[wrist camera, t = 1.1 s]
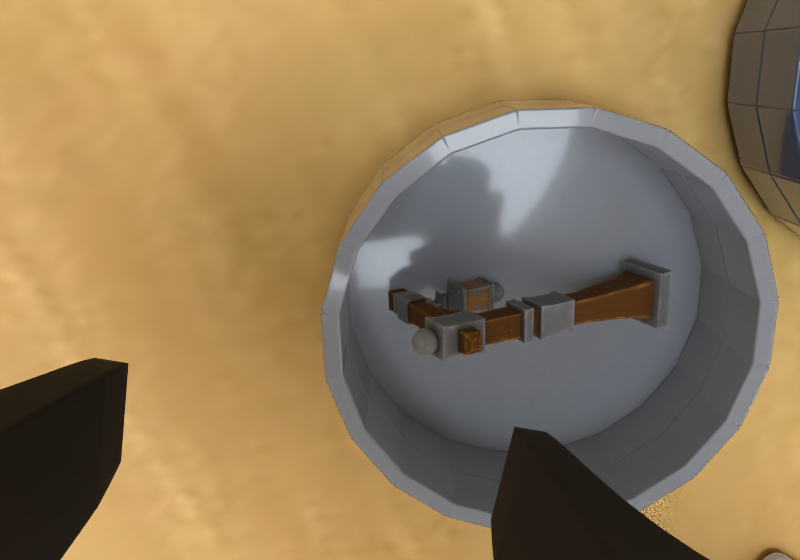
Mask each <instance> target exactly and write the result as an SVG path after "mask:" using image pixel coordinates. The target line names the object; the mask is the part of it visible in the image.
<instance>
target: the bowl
mask: <svg viewBox="0 0 800 560" xmlns="http://www.w3.org/2000/svg"><path fill="white" fill-rule="evenodd" d="M735 33H736V34H735V35H734V41H733V51H732V60H731V70H730V80H729V90H728V100H727V101H728V102H729V103H728V109H729V114H730V118H731V123H732V127H733V132H734V137H735V141H736V146H737V150H738V155H739V160H740V163H741V164H742V168H743V170H744V171H745V173H746V174H747V176H748V178H749V179H750V181H751V182H752V184H753V186H754V187H755V189H756V190H757V192H758V193H759V195H760V197H761V198H762V200H763V201H764V203H765V205H766V206H767V208H768V209H769V211H770V213H771V214H773V215H774V217H775V218H777V219H778V220H779V221H781V222H782V223H783V224H785V225H786V226H787V227H789V228H790V229H791V230H793V231H794V232H795V233H797V234H798V235H799V236H800V0H748V1H747V4H746V6H745V8H744V11H743V13H742V16H741V18H740V21H739V23H738V26H737V28H736V31H735Z"/></svg>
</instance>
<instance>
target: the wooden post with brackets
mask: <svg viewBox="0 0 800 560" xmlns="http://www.w3.org/2000/svg"><path fill="white" fill-rule="evenodd" d="M671 285H672V270H669V269H666V268H663V267H660V266H657V265H653V264H650V263H647V262H644V261H641V260H638V259H635V258H632V257H629V258H628V259H627V260H625V261H622V260H621V268H620V274H619V275H617V276H615V277H613V278H611V279H609V280H606V281H603V282H600V283H598V284H595V285H592V286H590V287H587V288H584V289H581V290H579V291H576V292H571V293H567V294H561V293H559V292H556V291H552V292H550V293H548V294H545V295H539V296H534V297H522V302H520V301H518V300H516V299H514V298H513V299H512V300H506V307H501V308H497V309H495V303H497V302H499V301H501V299H502V298H503V297H504V289H503V287H502V286H501V285H500V284H498V283H492V282H490V281H488V280H486V279H484V278H482V277H480V276H477V278H476V279H474V280H472V281H468V282H464V283H460V284H459V283H457V282H455V281H453V280H451V279H447V293H446V294H445V293H443V294H441V293H439V292H438V291H436V295H435V300H432V299H431V298H426V297H424V296H422V295H421V294H419V293H417V292H412V293H411V291H407V290H406V289H405V288H401V289H395V290H390V291H388V298H389V310H391V311H393V312H394V314H397V318H398V319H400V320H401V321H403V322H404V323H406V324H407V325H409V324H414V325H416V326H417V327H419V328H420V329H419V330H418V331H416V333H415V334H414V335H413V337H412V346H413V349H414V350H415V351H416V352H417V353H418V354H421V355H431V354H432V355H434V356H435V357H437V358H438V359H440V360H441V361H443V362H445V361H447V360H449V359H451V358H454V357H458V356H463V355H470V354H474V353H479V352H485V345H489V344H494V343H498V342H503V341H508V340H513V339H518V340H520V341H521V342H523V343H526V342H530V341H531V342H533V336H535V337H537V338H539V339H540V340H542V339H544V338H546V337H547V336H550V335H554V334H558V333H562V332H574V326H575V325H579V324H584V323H589V322H597V321H607V320H617V319H627V318H632V319H635V320H637V321H639V322H642V323H644V324H646V325H649V326H651V327H653V328H656V329H658V328H662V327H665V328H667V329H668V325H669V312H670V298H671ZM427 300H428V301H429V302H427ZM434 303H435V304H434ZM481 311H484V312H481ZM473 312H480V313H473Z"/></svg>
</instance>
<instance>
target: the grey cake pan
mask: <svg viewBox="0 0 800 560" xmlns="http://www.w3.org/2000/svg"><path fill="white" fill-rule="evenodd" d="M629 257H632V258H635V259H638V260H641V261H644V262H647V263H650V264H653V265H657V266H660V267H663V268H666V269H669V270H672V285H671V298H670V312H669V325H668V329H667V328H665V327H662V328H658V329H656V328H653V327H651V326H649V325H646V324H644V323H642V322H639V321H637V320H635V319H632V318H627V319H617V320H607V321H597V322H589V323H584V324H579V325H575V326H574V332H562V333H558V334H554V335H550V336H547V337H546V338H544V339H542V340H540V339H539V338H537V337H535V336H533V342H531V341H530V342H526V343H523V342H521V341H520V340H518V339H513V340H508V341H503V342H498V343H494V344H489V345H485V352H479V353H474V354H470V355H463V356H458V357H454V358H451V359H449V360H447V361H445V362H443V361H441V360H440V359H438V358H437V357H435V356H434V355H432V354H431V355H421V354H418V353H417V352H416V351H415V350H414V349H413V346H412V337H413V335H414V334H415V333H416V331H418V330H419V329H420V328H419V327H417V326H416V325H414V324H409V325H407V324H406V323H404V322H403V321H401V320H400V319H398V318H397V314H394V312H393V311H391V310H389V298H388V291H390V290H395V289H401V288H405V289H406V290H407V291H411V293H412V292H417V293H419V294H421V295H422V296H424V297H426V298H431V299H432V300H435V295H436V291H438V292H439V293H441V294H443V293H445V294H446V293H447V279H451V280H453V281H455V282H457V283H459V284H460V283H464V282H468V281H472V280H474V279H476V278H477V276H480V277H482V278H484V279H486V280H488V281H490V282H492V283H498V284H500V285H501V286H502V287H503V289H504V297H503V298H502V299H501V301H499V302H497V303H495V309H497V308H501V307H506V300H512V299H513V298H514V299H516V300H518V301H520V302H522V297H534V296H539V295H545V294H548V293H550V292H552V291H556V292H559V293H561V294H567V293H571V292H576V291H579V290H581V289H584V288H587V287H590V286H592V285H595V284H598V283H600V282H603V281H606V280H609V279H611V278H613V277H615V276H617V275H619V274H620V268H621V260H622V261H625V260H627V259H628V258H629ZM778 299H779V297H778V293H777V288H776V283H775V279H774V274H773V269H772V265H771V260H770V255H769V250H768V246H767V241H766V236H765V234H764V231H763V229H762V228H761V226H760V225H759V223H758V221H757V220H756V218H755V217H754V215H753V214H752V212H751V210H750V209H749V207H748V206H747V204H746V203H745V201H744V199H743V198H742V196H741V195H740V193H739V192H738V190H737V188H736V187H735V185H734V184H733V182H732V181H731V179H730V177H729V176H728V175H727V174H726V173H725V171H723V170H722V169H721V168H719V167H718V166H717V165H715V164H714V163H713V162H711V161H710V160H709V159H707V158H706V157H705V156H703V155H702V154H701V153H699V152H698V151H697V150H695V149H694V148H693V147H691V146H690V145H689V144H687V143H686V142H685V141H683V140H682V139H681V138H679V137H678V136H677V135H675V134H674V133H673V132H671V131H670V130H667V129H666V128H663V127H660V126H656V125H653V124H650V123H647V122H643V121H640V120H637V119H634V118H630V117H627V116H624V115H621V114H618V113H614V112H611V111H608V110H605V109H601V108H598V107H594V106H589V105H584V104H580V103H575V102H571V101H566V100H520V101H499V102H494V103H491V104H488V105H486V106H483V107H480V108H477V109H473V110H470V111H467V112H465V113H462V114H460V115H457V116H455V117H452V118H450V119H447V120H444V121H441V122H439V123H436V125H433V126H431V127H430V128H429V129H428V130H426V131H425V132H424V133H422V134H421V135H420V136H418V137H417V138H416V139H414V140H413V141H412V142H410V143H409V144H408V145H406V146H405V147H404V148H402V149H401V150H400V151H399V152H398V153H397V154H396V155H394V156H393V157H392V158H390V159H389V160H388V161H387V162H385V164H384V165H383V166H382V167H381V169H380V170H379V172H378V173H377V175H376V176H375V178H374V179H373V181H372V182H371V183H370V185H369V186H368V187H367V189H366V190H365V192H364V194H363V195H362V197H361V198H360V200H359V201H358V203H357V204H356V206H355V207H354V209H353V210H352V212H351V213H350V216H349V217H348V220H347V223H346V226H345V229H344V232H343V235H342V238H341V241H340V244H339V247H338V251H337V254H336V258H335V262H334V265H333V269H332V273H331V276H330V280H329V283H328V287H327V291H326V294H325V298H324V302H323V305H322V309H321V311H322V312H321V325H322V340H323V355H324V370H325V377H326V382H327V384H328V386H329V389H330V391H331V393H332V396H333V398H334V400H335V403H336V405H337V408H338V410H339V412H340V415H341V417H342V419H343V422H344V424H345V426H346V429H347V431H348V434H349V436H350V437H351V439H352V440H353V441H354V442H355V443H356V444H357V445H358V447H359V448H360V449H361V450H362V451H363V452H364V453H365V454H366V456H367V457H368V458H369V459H370V460H371V461H372V462H373V464H374V465H375V466H376V467H377V468H378V469H379V470H380V471H381V473H382V474H383V475H384V476H385V477H386V478H387V479H388V480H389V482H390V483H391V484H393V485H394V486H395V487H397V488H399V489H400V490H402V491H404V492H405V493H407V494H409V495H410V496H412V497H414V498H415V499H417V500H419V501H420V502H422V503H424V504H426V505H427V506H429V507H431V508H432V509H434V510H436V511H437V512H439V513H441V514H442V515H444V516H447V517H449V518H452V519H456V520H460V521H464V522H468V523H472V524H476V525H480V526H484V527H488V528H491V517H492V513H493V509H494V505H495V501H496V497H497V493H498V489H499V485H500V481H501V477H502V473H503V469H504V465H505V461H506V457H507V453H508V449H509V446H510V442H511V438H512V434H513V430H514V427H520V428H526V429H532V430H538V431H544V432H547V433H549V434H550V435H551V436H553V437H554V438H555V439H556V440H558V441H559V442H560V443H561V444H562V445H563V446H565V447H566V448H567V449H568V450H569V451H570V452H571V453H572V454H573V455H575V456H576V457H577V458H578V459H579V460H580V461H581V462H582V463H583V464H584V465H585V466H587V467H588V468H589V469H590V470H591V471H592V472H593V473H594V474H595V475H597V476H598V477H599V478H600V479H601V480H602V481H603V482H604V483H606V484H607V485H608V486H609V487H610V488H611V489H612V490H614V491H615V492H616V493H617V494H618V495H620V496H621V497H622V498H623V499H624V500H625V501H627V502H628V503H629V504H631V505H632V506H633V507H634V508H636V509H637V510H638V511H641V510H643V509H644V508H646V507H647V506H649V505H651V504H652V503H654V502H655V501H657V500H659V499H660V498H662V497H664V496H665V495H667V494H668V493H670V492H672V491H673V490H675V489H676V488H678V487H680V486H681V485H683V484H685V483H686V482H688V481H689V480H691V479H693V478H694V476H696V475H697V474H698V473H699V472H700V471H701V470H702V469H703V468H704V467H705V466H706V465H707V463H708V462H709V461H710V460H711V459H712V458H713V457H714V456H715V455H716V454H717V453H718V451H719V450H720V449H721V448H722V447H723V446H724V445H725V444H726V443H727V442H728V441H729V439H730V438H731V437H732V436H733V435H734V434H735V433H736V432H737V431H738V430H739V428H740V427H739V426H742V424H743V422H744V419H745V417H746V415H747V413H748V411H749V409H750V407H751V405H752V403H753V401H754V399H755V397H756V395H757V393H758V390H759V388H760V386H761V384H762V382H763V380H764V378H765V376H766V374H767V372H768V370H769V366H770V363H771V355H772V348H773V340H774V333H775V325H776V318H777V310H778ZM427 302H429V301H428V300H427ZM434 304H435V303H434ZM481 312H484V311H481ZM473 313H480V312H473Z"/></svg>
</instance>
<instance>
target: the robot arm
mask: <svg viewBox="0 0 800 560" xmlns="http://www.w3.org/2000/svg"><path fill="white" fill-rule="evenodd" d="M127 374H128V363H123V362H117V361H111V360H105V359H98V358H92V359H88V360H84V361H80V362H77V363H74V364H71V365H68V366H65V367H62V368H59V369H57V370H54V371H51V372H48V373H46V374H43V375H40V376H37V377H35V378H32V379H29V380H26V381H23V382H21V383H18V384H15V385H12V386H10V387H7V388H4V389H1V390H0V560H60V559H61V558H62V557H63V555H64V554H65V553H66V551H67V550H68V548H69V547H70V546H71V544H72V543H73V541H74V540H75V539H76V537H77V536H78V534H79V533H80V531H81V530H82V529H83V527H84V526H85V524H86V523H87V522H88V520H89V519H90V517H91V516H92V514H93V513H94V511H95V510H96V508H97V507H98V505H99V503H100V502H101V500H102V498H103V496H104V494H105V492H106V490H107V488H108V487H109V485H110V483H111V481H112V479H113V477H114V475H115V472H116V470H117V468H118V466H119V464H120V462H121V454H122V441H123V427H124V414H125V401H126V388H127ZM491 531H492V546H493V558H494V560H709V559H708V558H706V557H704V556H703V555H701V554H699V553H698V552H696V551H694V550H693V549H691V548H690V547H688V546H687V545H685V544H684V543H682V542H681V541H679V540H678V539H676V538H675V537H673V536H672V535H671V534H669V533H668V532H666V531H665V530H663V529H662V528H660V527H659V526H658V525H656V524H655V523H654V522H652V521H651V520H650V519H648V518H647V517H646V516H644V515H643V514H642V513H641V512H639V511H638V510H637V509H636V508H634V507H633V506H632V505H631V504H629V503H628V502H627V501H625V500H624V499H623V498H622V497H621V496H620V495H618V494H617V493H616V492H615V491H614V490H612V489H611V488H610V487H609V486H608V485H607V484H606V483H604V482H603V481H602V480H601V479H600V478H599V477H598V476H597V475H595V474H594V473H593V472H592V471H591V470H590V469H589V468H588V467H587V466H585V465H584V464H583V463H582V462H581V461H580V460H579V459H578V458H577V457H576V456H575V455H573V454H572V453H571V452H570V451H569V450H568V449H567V448H566V447H565V446H563V445H562V444H561V443H560V442H559V441H558V440H556V439H555V438H554V437H553V436H551V435H550V434H549V433H547V432H544V431H538V430H532V429H526V428H520V427H514V430H513V434H512V438H511V442H510V446H509V449H508V453H507V457H506V461H505V465H504V469H503V473H502V477H501V481H500V485H499V489H498V493H497V497H496V501H495V505H494V509H493V513H492V517H491ZM763 560H792V559H791V558H789V557H788V556H786V555H785V554H782V553H772V554H769V555H767V556H766V557H765V558H764V559H763Z"/></svg>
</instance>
